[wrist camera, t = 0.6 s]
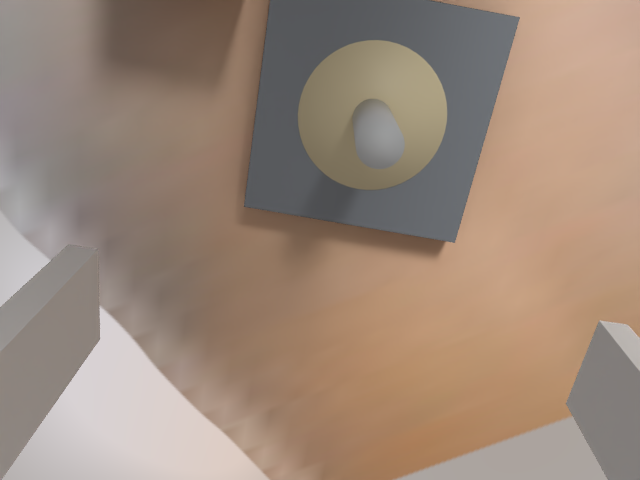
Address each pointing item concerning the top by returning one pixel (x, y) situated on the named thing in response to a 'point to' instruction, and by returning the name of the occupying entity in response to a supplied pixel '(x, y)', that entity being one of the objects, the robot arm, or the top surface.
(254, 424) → the top surface
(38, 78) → the top surface
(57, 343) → the robot arm
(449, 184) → the post block
